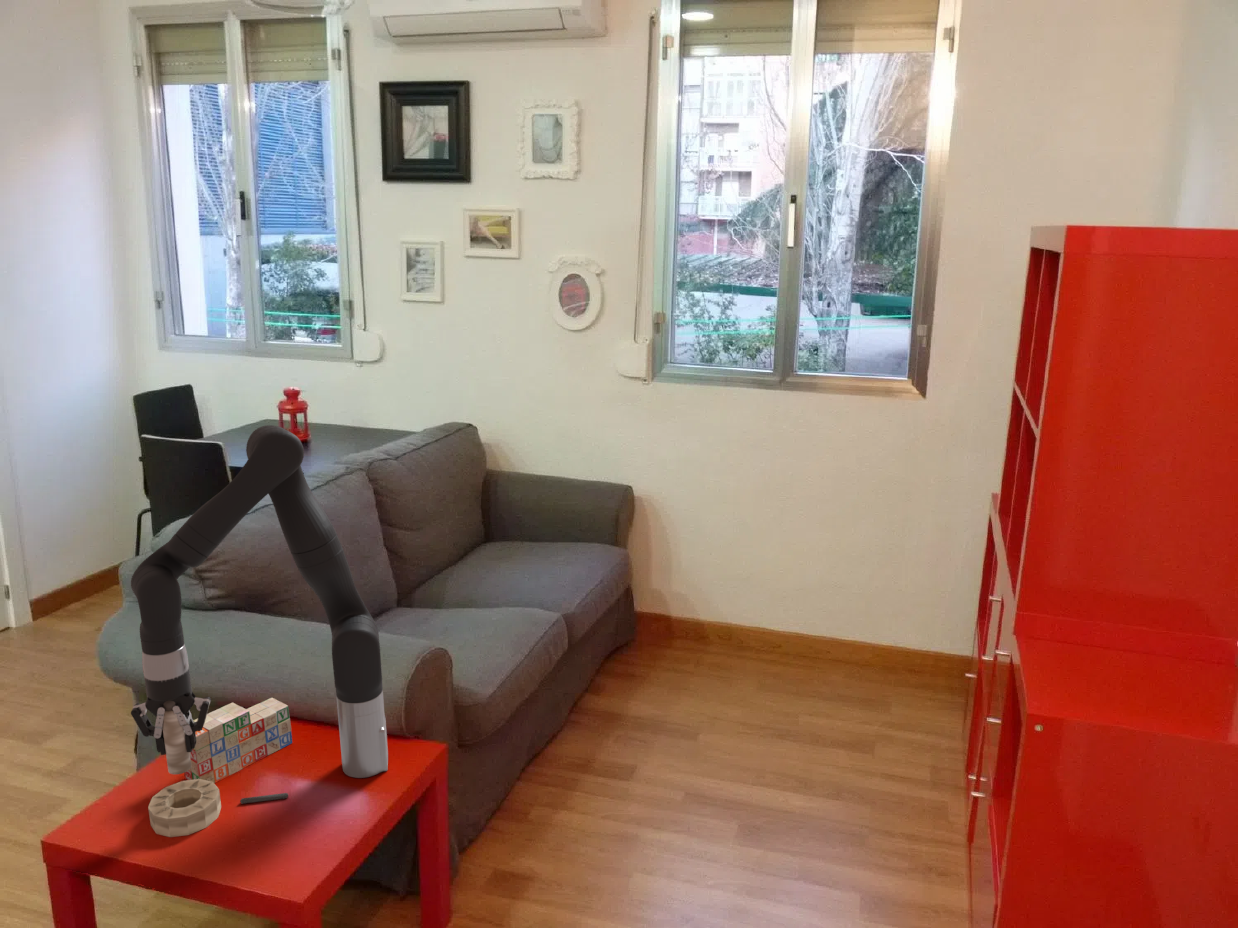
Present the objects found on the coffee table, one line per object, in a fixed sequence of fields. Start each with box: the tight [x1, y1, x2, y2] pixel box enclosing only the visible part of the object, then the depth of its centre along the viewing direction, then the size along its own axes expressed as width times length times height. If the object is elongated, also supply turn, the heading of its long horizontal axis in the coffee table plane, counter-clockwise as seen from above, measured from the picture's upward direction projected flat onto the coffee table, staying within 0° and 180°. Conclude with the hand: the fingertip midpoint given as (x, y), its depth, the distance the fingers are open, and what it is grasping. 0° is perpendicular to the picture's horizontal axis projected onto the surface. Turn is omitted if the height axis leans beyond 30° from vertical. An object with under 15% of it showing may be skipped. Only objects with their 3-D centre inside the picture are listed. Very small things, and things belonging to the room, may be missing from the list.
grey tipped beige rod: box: [162, 701, 191, 775], centre depth 175 cm, size 4×4×15 cm
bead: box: [147, 779, 222, 838], centre depth 180 cm, size 12×12×4 cm
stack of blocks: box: [183, 697, 293, 784], centre depth 197 cm, size 21×6×12 cm, turn 143°
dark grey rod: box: [239, 792, 289, 805], centre depth 185 cm, size 9×1×1 cm, turn 103°
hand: (177, 750), depth 176 cm, fingers closed on grey tipped beige rod, 4 cm apart
